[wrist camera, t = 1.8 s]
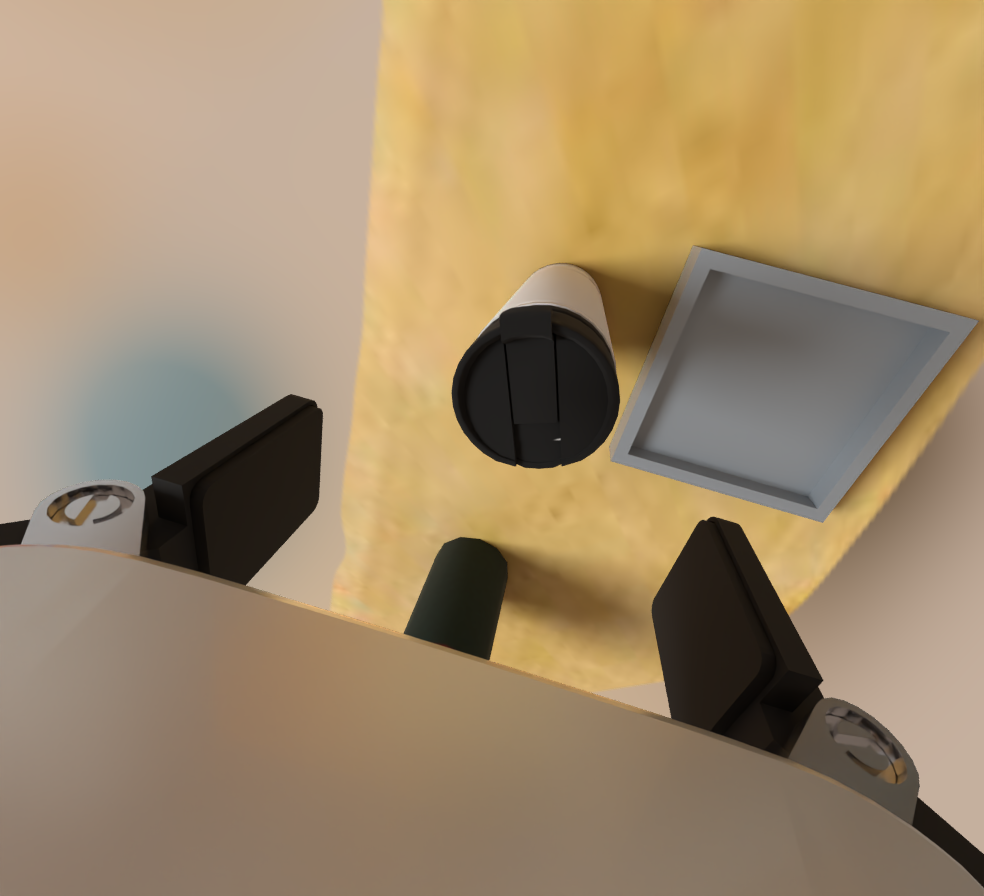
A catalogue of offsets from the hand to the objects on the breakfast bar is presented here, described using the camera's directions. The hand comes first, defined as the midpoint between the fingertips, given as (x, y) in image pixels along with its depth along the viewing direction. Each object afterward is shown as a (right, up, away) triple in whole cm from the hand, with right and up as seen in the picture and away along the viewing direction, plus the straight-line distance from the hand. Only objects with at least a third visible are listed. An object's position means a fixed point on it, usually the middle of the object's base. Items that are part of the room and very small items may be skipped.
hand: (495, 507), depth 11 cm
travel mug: (+5, +12, +22) cm, 26 cm away
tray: (+20, +6, +22) cm, 30 cm away
